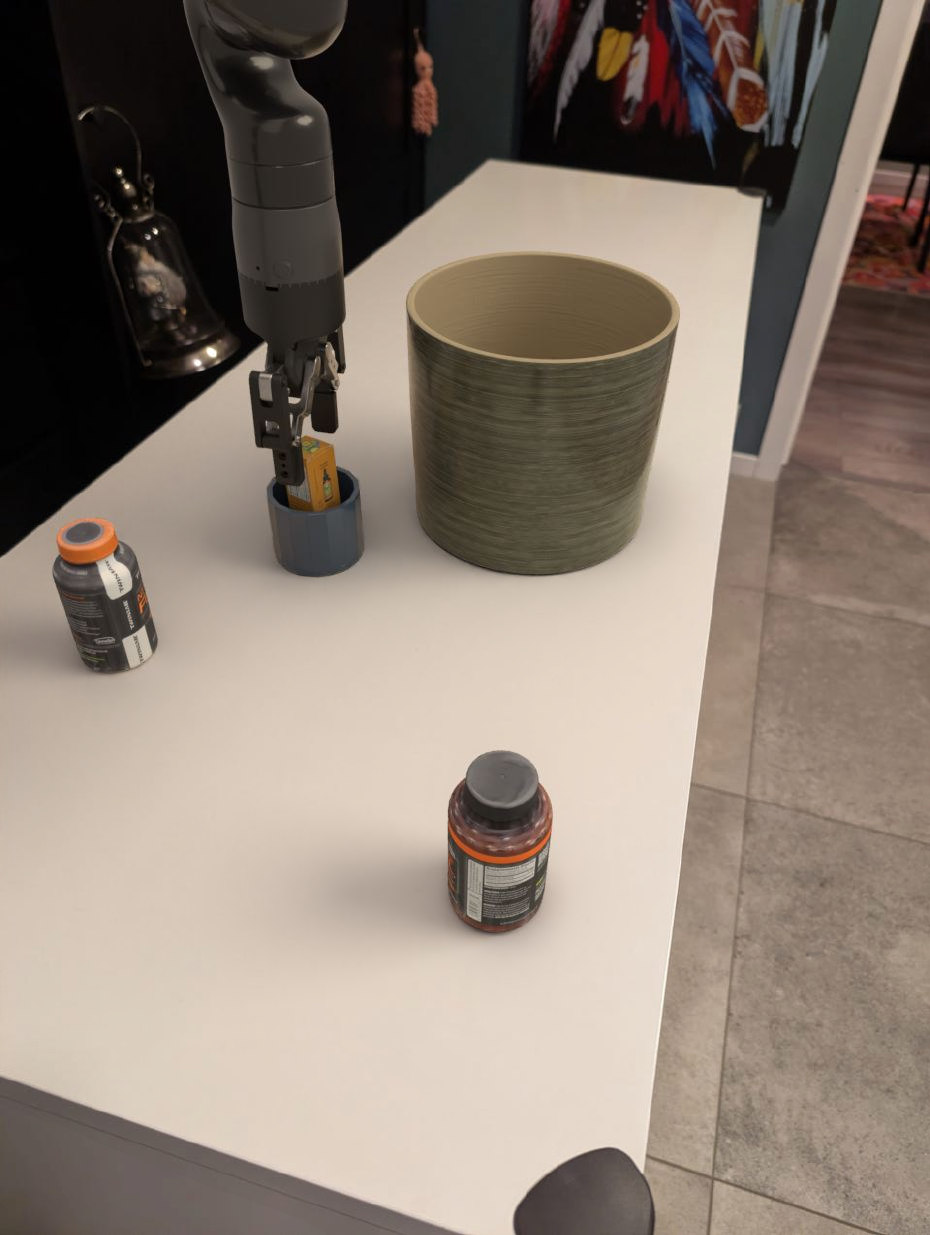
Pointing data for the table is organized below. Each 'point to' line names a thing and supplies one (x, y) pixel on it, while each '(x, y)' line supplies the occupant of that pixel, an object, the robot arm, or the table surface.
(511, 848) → the supplement bottle
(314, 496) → the supplement box
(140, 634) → the pill bottle
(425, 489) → the planter
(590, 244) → the table surface
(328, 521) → the cup
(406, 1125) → the table surface
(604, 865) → the table surface
